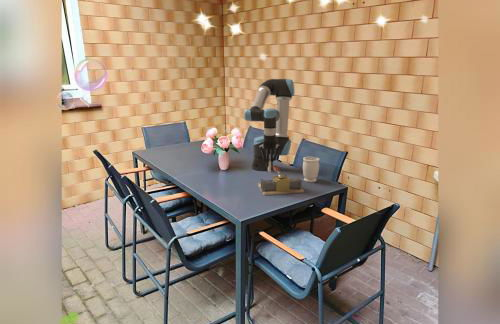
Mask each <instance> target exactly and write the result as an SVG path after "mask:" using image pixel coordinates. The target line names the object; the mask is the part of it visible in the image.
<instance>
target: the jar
mask: <svg viewBox="0 0 500 324" xmlns="http://www.w3.org/2000/svg"><path fill="white" fill-rule="evenodd" d="M302 160H303V163H302V173H303V174H302V175H303V177H304V178H303V181H304V182H307V183H315V182H317V179H318V178H317V177H318V175H319V170H320V163H319V162H320V157H317V156H304V157H303V158H302Z"/></svg>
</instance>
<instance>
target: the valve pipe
mask: <svg viewBox="0 0 500 324" xmlns="http://www.w3.org/2000/svg"><path fill="white" fill-rule="evenodd" d="M260 183H261V190H262V191H263V192H265V191H271V190H276V192H279V191H289V189H303V187H302V184H303V180H302V178H300V177H299V176H297V177H296V178H289V177H288V176H287V175H285V174H284V178H279V177H278V175H273V176H272V179H270V180H269V179H268V180H264V179H263V178H261V179H260ZM261 190H260V191H261ZM262 191H261V192H262Z"/></svg>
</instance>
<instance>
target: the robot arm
mask: <svg viewBox="0 0 500 324" xmlns="http://www.w3.org/2000/svg"><path fill="white" fill-rule="evenodd" d="M256 92H257V94H256V96H255V98H254V100H253V103H252V104H251V107H250V108H246V109H245V110H244V115H243V117H244V120H245V121H246V122H263V135H261V136H257V137H254V139H253V158H252V161H251V165H250V166H251V168H250V169H252V170H255V171H267V172H268V173H271V172H272V169H273V166H274V161H276V160H277V157H278V156H288V155H289V154H290V151H291V146H292V139H290V136H289V135H288V129H289V126H288V125H289V113H290V101H291V100H292V99H293V97H294V96H295V83H294V81H293V79H291V78H289V79H288V78H270V79H267V80H265V81H263V82H261V84H260V85H259V86H258V88H257V91H256ZM270 96H275V99H276V102H277V103H276V108H265V109H264V107H265V105H266V102H267V100H268V98H269V97H270Z"/></svg>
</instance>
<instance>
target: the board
mask: <svg viewBox="0 0 500 324" xmlns="http://www.w3.org/2000/svg"><path fill="white" fill-rule="evenodd" d="M257 186H258V188H259V189H260V191H261V193H262V195H263V196H268V195H270V196H271V195H282V194H283V195H284V194H296V193H298V194H300V193H305V189H303V188H302V189H289V191H279V192H276V190H271V191H265V192H263V191H262V190H261V182H257Z"/></svg>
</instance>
